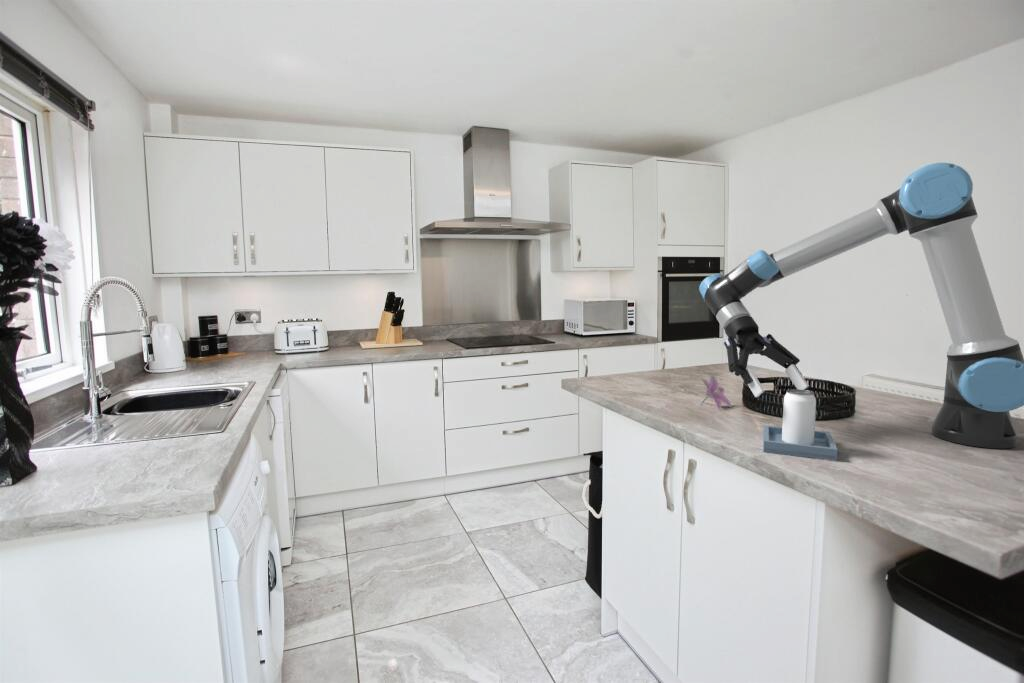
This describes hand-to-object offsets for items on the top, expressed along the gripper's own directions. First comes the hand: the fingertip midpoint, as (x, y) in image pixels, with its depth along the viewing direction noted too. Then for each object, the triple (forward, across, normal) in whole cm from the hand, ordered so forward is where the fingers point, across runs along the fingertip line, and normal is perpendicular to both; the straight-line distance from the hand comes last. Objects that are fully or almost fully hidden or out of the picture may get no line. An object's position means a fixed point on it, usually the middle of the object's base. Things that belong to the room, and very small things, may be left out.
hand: (782, 391), depth 120 cm
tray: (+12, 0, -6) cm, 13 cm away
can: (+11, 0, -5) cm, 12 cm away
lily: (-14, -9, -32) cm, 36 cm away
